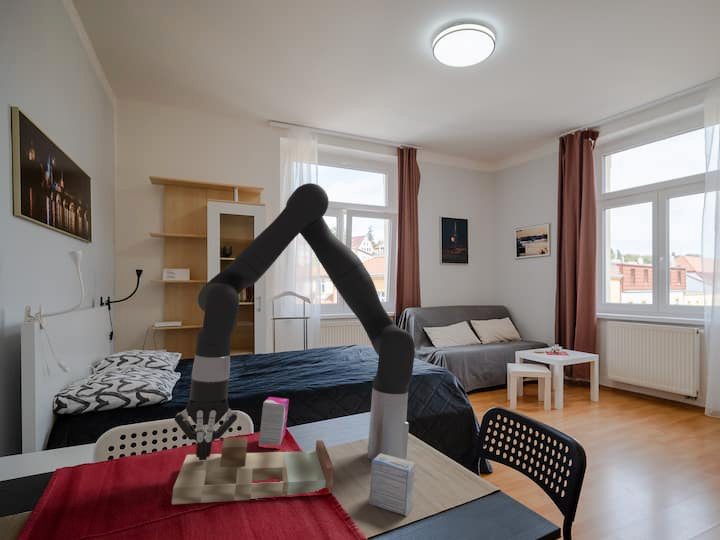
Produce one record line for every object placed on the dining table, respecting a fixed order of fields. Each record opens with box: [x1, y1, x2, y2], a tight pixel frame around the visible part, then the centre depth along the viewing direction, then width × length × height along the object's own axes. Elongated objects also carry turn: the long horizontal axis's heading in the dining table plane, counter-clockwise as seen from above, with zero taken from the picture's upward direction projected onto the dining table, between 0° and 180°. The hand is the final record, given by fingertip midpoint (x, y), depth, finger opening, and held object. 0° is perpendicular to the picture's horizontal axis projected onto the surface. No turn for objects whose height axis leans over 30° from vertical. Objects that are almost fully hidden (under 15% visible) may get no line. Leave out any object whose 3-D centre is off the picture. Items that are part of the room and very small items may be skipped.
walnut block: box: [220, 437, 248, 467], centre depth 83 cm, size 5×5×4 cm
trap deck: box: [171, 439, 335, 505], centre depth 81 cm, size 30×14×6 cm, turn 105°
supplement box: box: [258, 396, 290, 445], centre depth 100 cm, size 6×6×12 cm
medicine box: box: [368, 453, 416, 517], centre depth 76 cm, size 8×4×9 cm, turn 65°
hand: (203, 458), depth 81 cm, fingers closed
